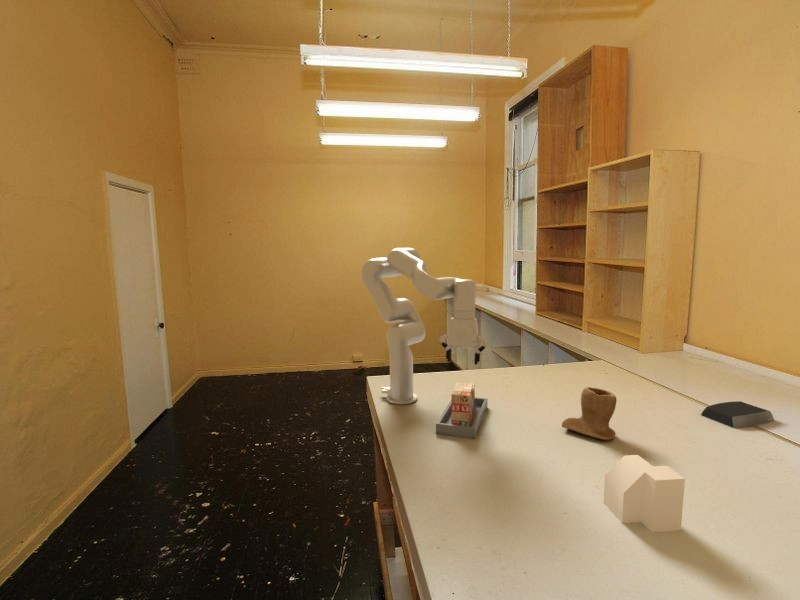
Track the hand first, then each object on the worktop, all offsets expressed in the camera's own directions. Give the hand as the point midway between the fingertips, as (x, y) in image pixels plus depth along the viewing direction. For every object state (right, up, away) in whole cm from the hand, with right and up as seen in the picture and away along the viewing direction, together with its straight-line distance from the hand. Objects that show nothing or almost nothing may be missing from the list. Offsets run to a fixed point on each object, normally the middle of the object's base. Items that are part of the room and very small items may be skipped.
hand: (462, 362), depth 147 cm
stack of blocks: (+1, -20, +3) cm, 21 cm away
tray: (+1, -21, +2) cm, 21 cm away
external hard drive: (+98, -21, +1) cm, 100 cm away
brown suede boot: (+41, -22, -9) cm, 48 cm away
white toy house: (+33, -28, -52) cm, 67 cm away
